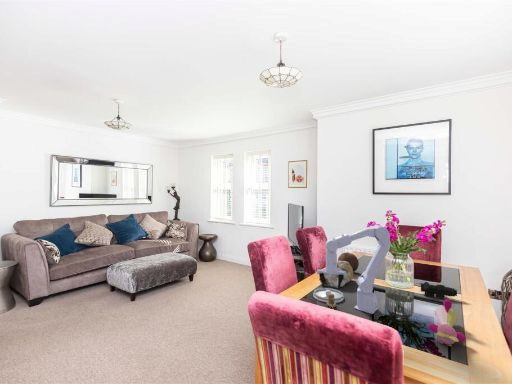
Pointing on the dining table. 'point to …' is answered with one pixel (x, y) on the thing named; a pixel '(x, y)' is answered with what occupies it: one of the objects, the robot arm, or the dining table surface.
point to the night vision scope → (437, 290)
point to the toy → (446, 325)
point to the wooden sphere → (350, 260)
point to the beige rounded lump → (333, 279)
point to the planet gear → (331, 301)
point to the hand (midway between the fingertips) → (331, 288)
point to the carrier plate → (322, 293)
